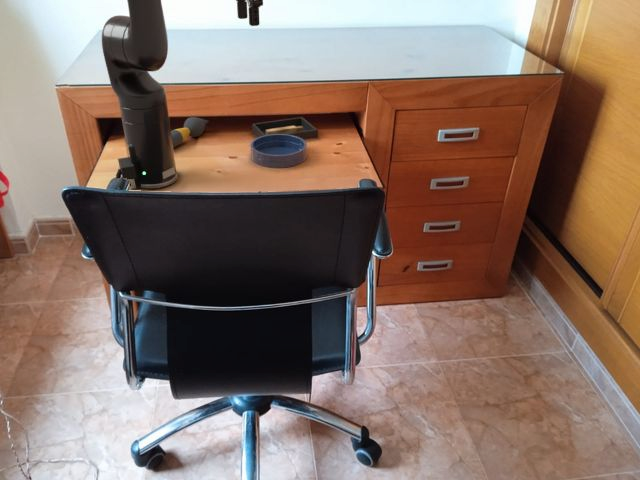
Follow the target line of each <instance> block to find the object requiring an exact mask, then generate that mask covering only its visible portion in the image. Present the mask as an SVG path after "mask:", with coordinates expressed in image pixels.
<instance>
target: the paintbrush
mask: <svg viewBox="0 0 640 480" xmlns="http://www.w3.org/2000/svg"><path fill="white" fill-rule="evenodd" d="M209 122H210V120H208V119H207V120H206V119H204V118H200V117H196V116H191V117H188V118H187V119H186V120H184V123H183V127H180V128H176V129H171V136H172V143H173V149H174V148H176V147H178V146H179V145H181V144H182V143H184V142H185V140H186V139H187V138H188V137H192V138H197V137H200V136H201V135H203V133H204V130H205V127H206V125H207V124H208V123H209Z"/></svg>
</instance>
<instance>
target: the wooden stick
mask: <svg viewBox="0 0 640 480" xmlns="http://www.w3.org/2000/svg"><path fill="white" fill-rule="evenodd" d="M298 131H303V127H302V126H298V127H295V126H288V127H281V128H274V129H267V130H266V135H270V134H287V133H294V132H298Z"/></svg>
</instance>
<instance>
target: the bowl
mask: <svg viewBox="0 0 640 480" xmlns="http://www.w3.org/2000/svg"><path fill="white" fill-rule="evenodd" d="M249 149H250V158H251V160H252V162H253V163H255V164H257V165H259V166H262V167H265V168H271V169H284V168H285V169H286V168H292V167H295V166H298V165H300V164H302V163H304V162H305V161H307V157H308V144H307V141H306V140H305V139H304V140H303V139H302V138H300V137H297V136H293V135H288V134H270V135H264V136H261V137H255V138H254V139H253V140H252V141H251V142H250V144H249Z"/></svg>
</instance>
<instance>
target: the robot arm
mask: <svg viewBox="0 0 640 480" xmlns="http://www.w3.org/2000/svg"><path fill="white" fill-rule="evenodd" d="M126 1H127V6H128V15H119V14H118V15H114V16H111V17H110V18H108V19H107V20H106V22H105V23H104V25H103V28H102V33H101V49H102V54H103V58H104V62H105V66H106V70H107V74H108V79H109V82H110V87H111V89H112V91H113V93H114V94H115V96H116V97H117V102H118V107H119V112H120V118H121V122H122V128H123V133H124V137H123V138H124V144H125V149H126V154H127V156H126V157H121V158H117V161H118V162H117V163H118V169H117V172H116V174H115V179H116V178H120V177H121V178H122V179H123V178H127V179H129V180H128V181H130V180H132V183H133V185H134V188H135V189H149V190H151V189H152V190H153V189H161V188H165V187H168V186H171V185H173V184H175V182H176V181H177V180H178V171H177V166H176V159H175V151H174V148H173V143H172V136H171V131H172V129H171V123H170V115H169V107H168V101H167V99H168V98H167V93H166V89H165V87H164V86H163V84H161V83H160V82H159V81H157V80H156V79H155V78H154V77H153V76H152V75H151V74H150V73H149V72H157V71H159V70H161V68H162V67H163V66H164V65H165V63H166V60H167V59H168V58H167V57H168V54H169V53H168V52H169V40H168V31H167V25H166V20H165V14H164V10H163V9H164V8H163V4H162V0H126ZM235 2H236V11H237V12H236V13H237V18H238V19H239V20H244V19H247V18H248V24H249V26H251V27H258V26H260V8H261V7H262V6H264V0H235ZM132 183H130V188H131V187H132Z"/></svg>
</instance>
